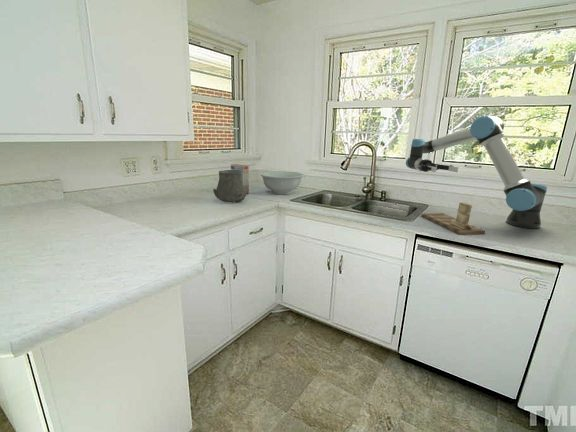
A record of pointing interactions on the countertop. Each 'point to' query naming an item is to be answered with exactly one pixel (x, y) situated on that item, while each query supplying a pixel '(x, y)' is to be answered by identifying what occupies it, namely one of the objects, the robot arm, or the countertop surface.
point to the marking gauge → (463, 216)
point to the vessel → (230, 186)
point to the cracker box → (243, 175)
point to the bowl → (281, 181)
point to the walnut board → (446, 222)
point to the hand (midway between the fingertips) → (446, 169)
